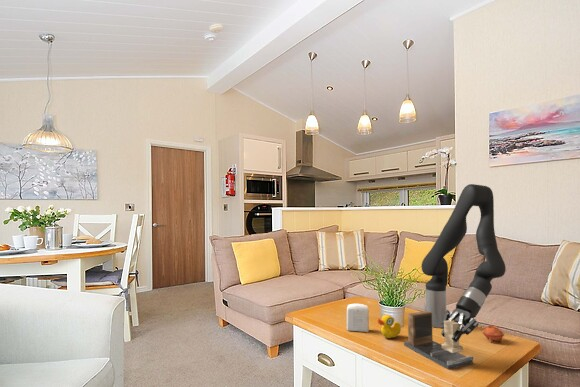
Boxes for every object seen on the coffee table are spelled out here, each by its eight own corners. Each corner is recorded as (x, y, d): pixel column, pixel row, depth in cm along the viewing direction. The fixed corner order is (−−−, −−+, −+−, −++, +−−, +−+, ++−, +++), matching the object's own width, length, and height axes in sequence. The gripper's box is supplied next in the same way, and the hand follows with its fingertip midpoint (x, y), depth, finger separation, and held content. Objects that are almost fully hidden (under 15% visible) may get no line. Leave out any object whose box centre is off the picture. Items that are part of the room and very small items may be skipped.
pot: (503, 345, 142) (498, 329, 143) (483, 345, 147) (478, 329, 149) (508, 339, 148) (503, 323, 149) (488, 339, 153) (483, 323, 154)
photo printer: (368, 329, 163) (368, 303, 163) (369, 332, 158) (369, 305, 159) (346, 328, 164) (346, 302, 165) (346, 331, 160) (346, 304, 161)
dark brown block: (408, 342, 142) (407, 313, 143) (427, 339, 146) (426, 310, 147) (414, 345, 139) (413, 315, 140) (433, 342, 143) (432, 313, 143)
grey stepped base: (404, 345, 143) (404, 338, 144) (426, 341, 148) (426, 334, 148) (448, 369, 122) (448, 362, 122) (473, 364, 126) (473, 356, 126)
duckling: (381, 341, 148) (381, 318, 148) (374, 337, 153) (374, 314, 153) (403, 338, 151) (403, 315, 152) (396, 334, 157) (395, 311, 157)
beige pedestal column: (441, 348, 129) (440, 320, 130) (451, 345, 131) (450, 319, 132) (452, 353, 125) (451, 325, 125) (462, 350, 127) (461, 323, 127)
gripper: (450, 291, 139) (428, 326, 134) (482, 299, 125) (458, 338, 120) (461, 303, 140) (439, 338, 135) (493, 313, 127) (470, 351, 122)
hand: (448, 338), depth 128 cm, fingers closed on beige pedestal column, 4 cm apart
